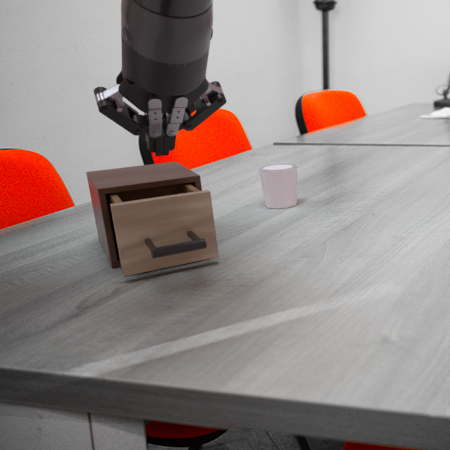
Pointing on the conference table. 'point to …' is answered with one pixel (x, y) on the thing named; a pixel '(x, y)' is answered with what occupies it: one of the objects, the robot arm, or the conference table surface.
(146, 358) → the conference table surface
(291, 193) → the white cup
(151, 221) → the drawer
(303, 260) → the conference table surface
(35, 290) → the conference table surface
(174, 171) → the cabinet
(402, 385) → the conference table surface
